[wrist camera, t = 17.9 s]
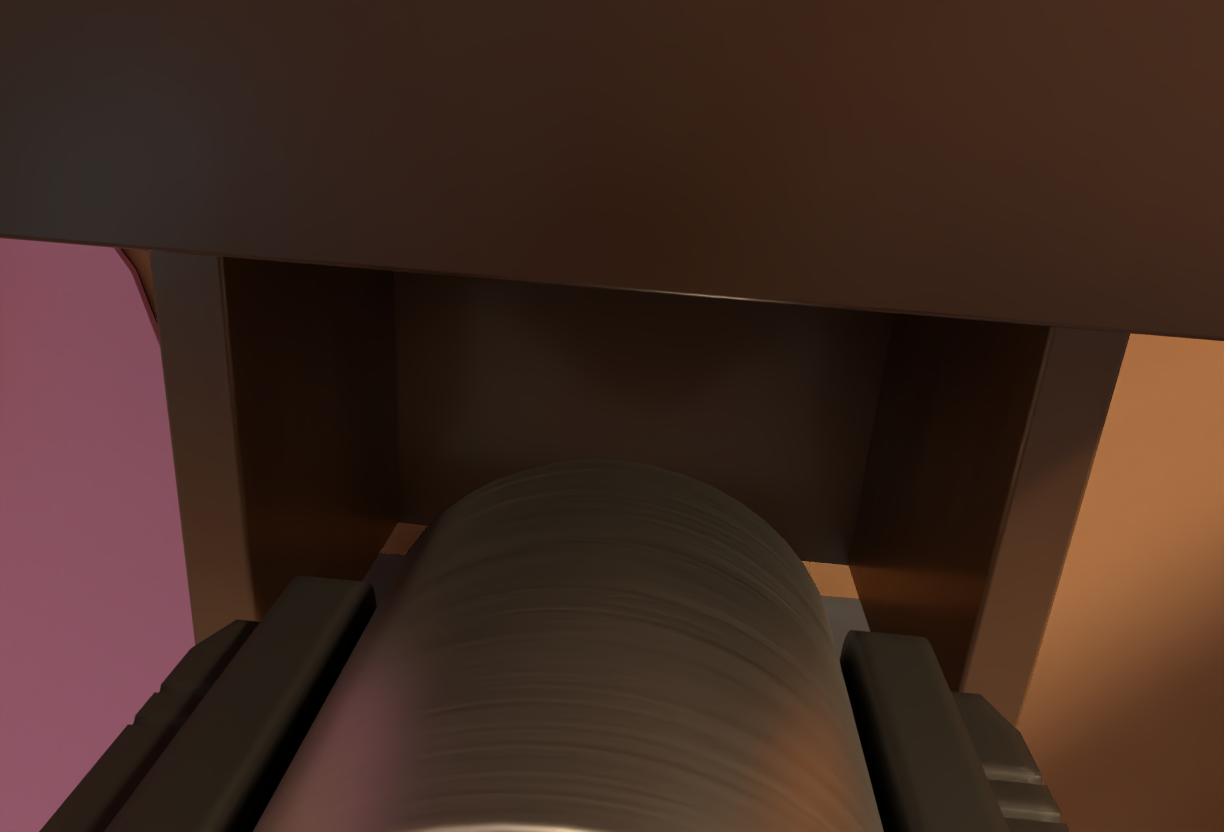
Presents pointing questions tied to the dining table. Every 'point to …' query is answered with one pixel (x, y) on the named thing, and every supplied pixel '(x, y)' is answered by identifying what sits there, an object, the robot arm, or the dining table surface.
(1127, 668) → the dining table surface
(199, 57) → the cabinet
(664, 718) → the tin
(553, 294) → the drawer
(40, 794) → the platter
